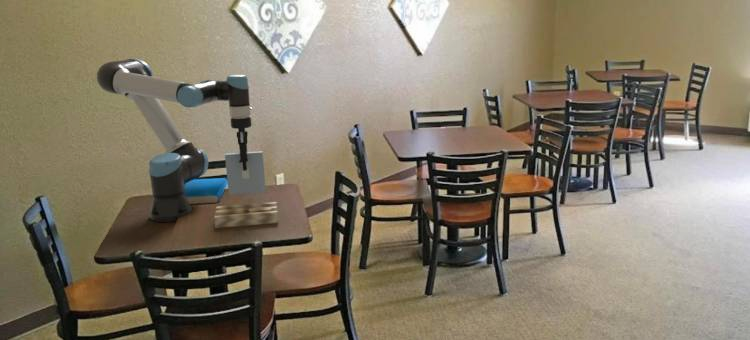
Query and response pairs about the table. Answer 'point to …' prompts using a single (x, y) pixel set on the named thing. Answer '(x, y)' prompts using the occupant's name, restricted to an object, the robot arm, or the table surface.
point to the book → (205, 190)
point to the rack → (247, 215)
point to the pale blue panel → (255, 174)
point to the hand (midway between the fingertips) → (245, 177)
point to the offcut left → (230, 211)
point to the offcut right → (260, 210)
